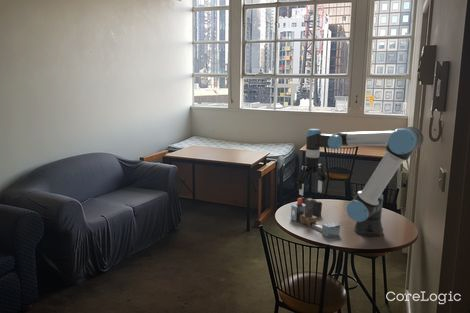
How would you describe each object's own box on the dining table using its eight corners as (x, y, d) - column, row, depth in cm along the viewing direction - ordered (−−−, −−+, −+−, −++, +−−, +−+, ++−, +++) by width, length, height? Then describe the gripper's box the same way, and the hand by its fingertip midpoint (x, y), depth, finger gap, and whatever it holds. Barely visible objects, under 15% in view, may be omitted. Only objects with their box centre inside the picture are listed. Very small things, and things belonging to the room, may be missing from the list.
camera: (325, 213, 256) (326, 197, 254) (319, 217, 247) (320, 201, 245) (304, 208, 264) (305, 193, 262) (297, 212, 255) (298, 197, 253)
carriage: (316, 225, 233) (318, 200, 230) (308, 226, 230) (310, 201, 227) (307, 220, 239) (309, 196, 237) (299, 222, 237) (301, 198, 234)
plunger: (302, 206, 240) (303, 199, 239) (299, 206, 238) (299, 199, 238) (299, 204, 242) (300, 197, 241) (296, 205, 241) (296, 198, 240)
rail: (339, 235, 219) (340, 219, 217) (327, 238, 215) (328, 222, 213) (301, 217, 246) (302, 203, 244) (290, 219, 242) (291, 205, 240)
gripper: (324, 153, 236) (322, 189, 240) (290, 157, 224) (288, 194, 228) (333, 156, 230) (331, 192, 234) (299, 159, 218) (297, 197, 222)
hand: (310, 193), depth 231 cm, fingers open, 13 cm apart
